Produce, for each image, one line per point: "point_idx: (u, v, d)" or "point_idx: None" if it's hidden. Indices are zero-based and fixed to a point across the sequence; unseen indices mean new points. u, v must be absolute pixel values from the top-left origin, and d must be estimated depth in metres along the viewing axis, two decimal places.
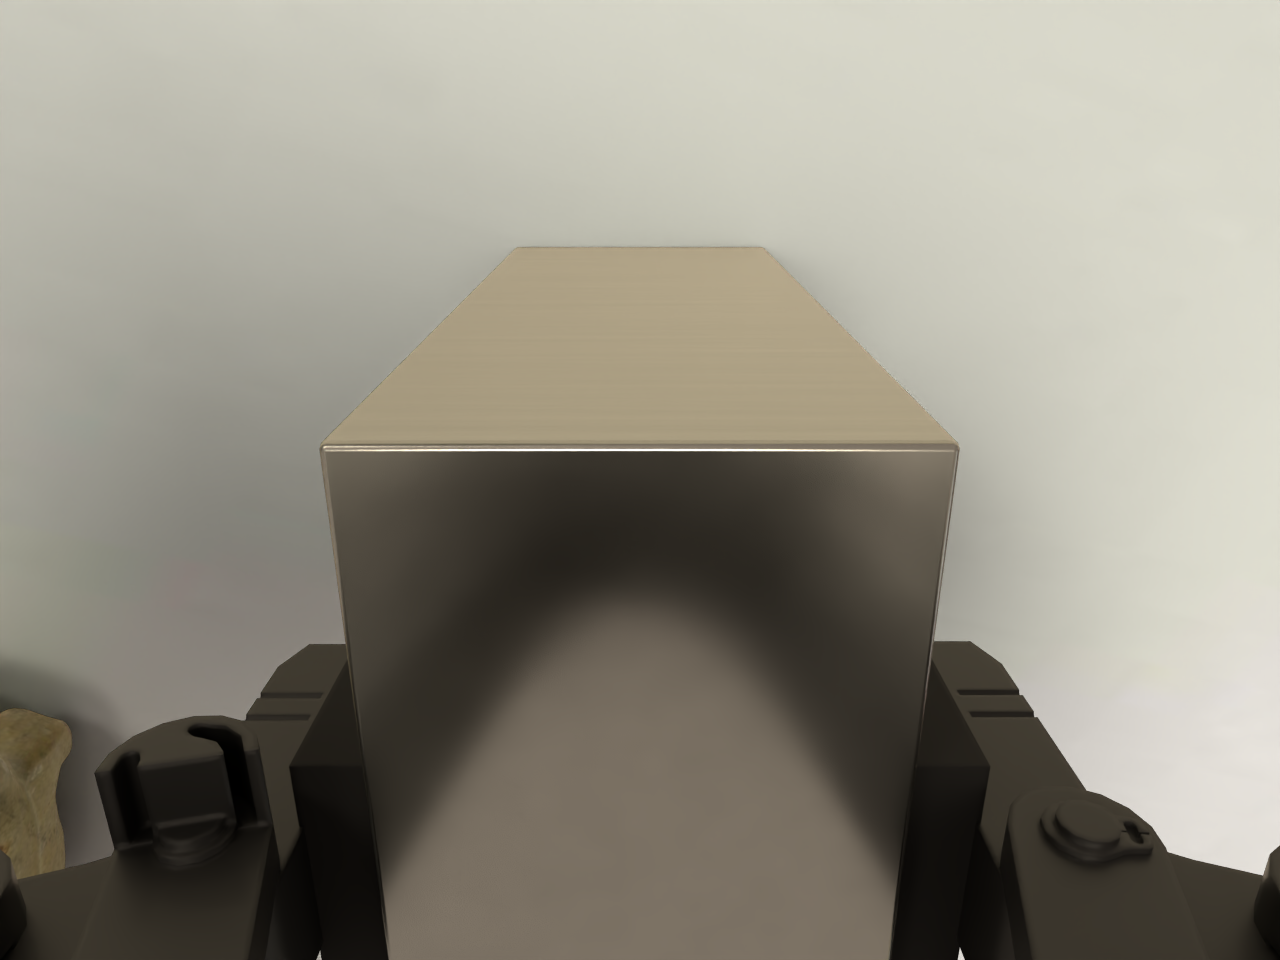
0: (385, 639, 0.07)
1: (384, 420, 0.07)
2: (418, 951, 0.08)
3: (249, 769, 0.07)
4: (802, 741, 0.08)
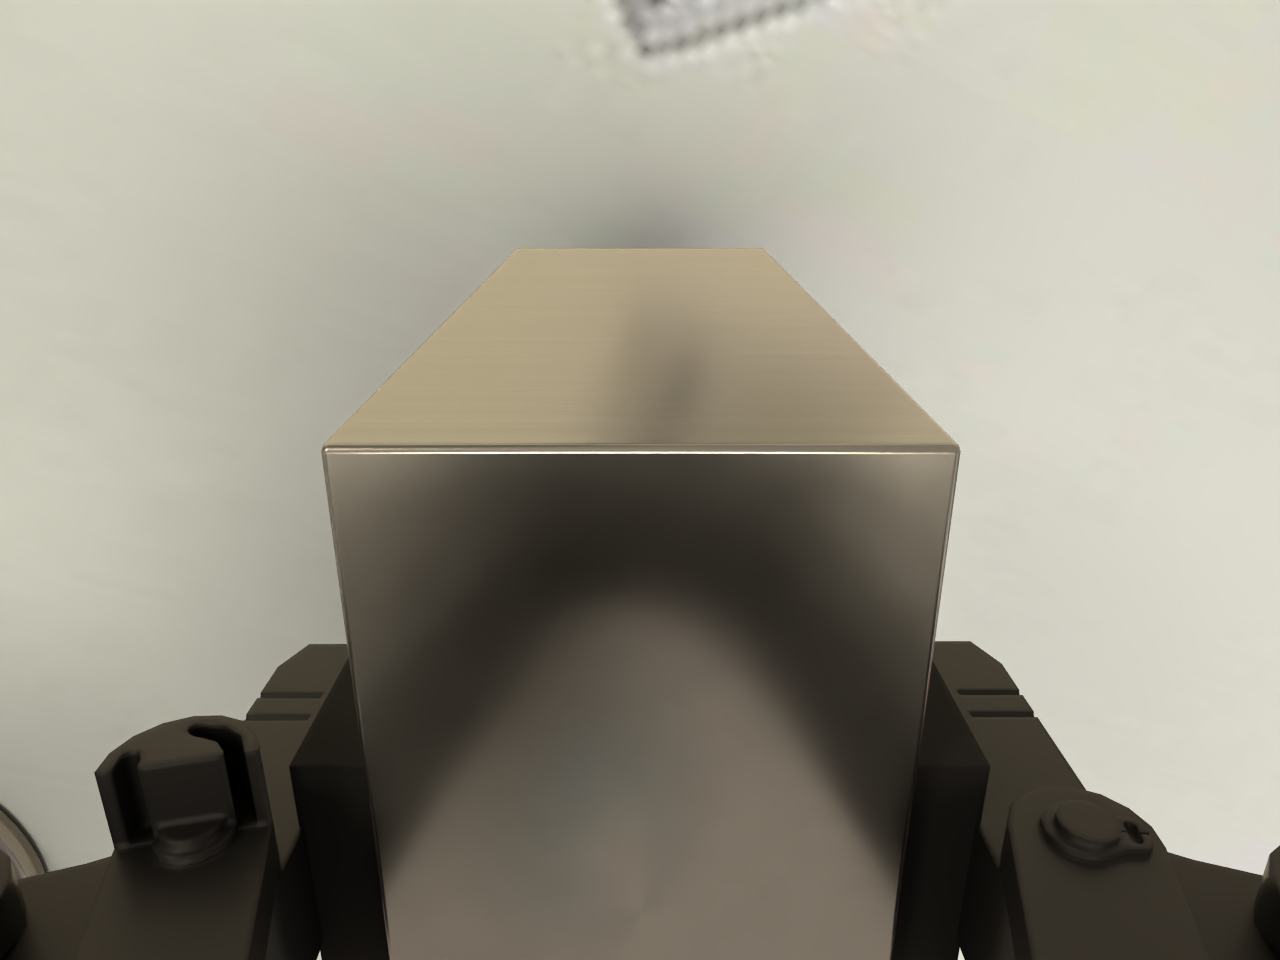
0: (387, 641, 0.07)
1: (386, 422, 0.07)
2: (420, 952, 0.08)
3: (249, 769, 0.07)
4: (803, 744, 0.08)
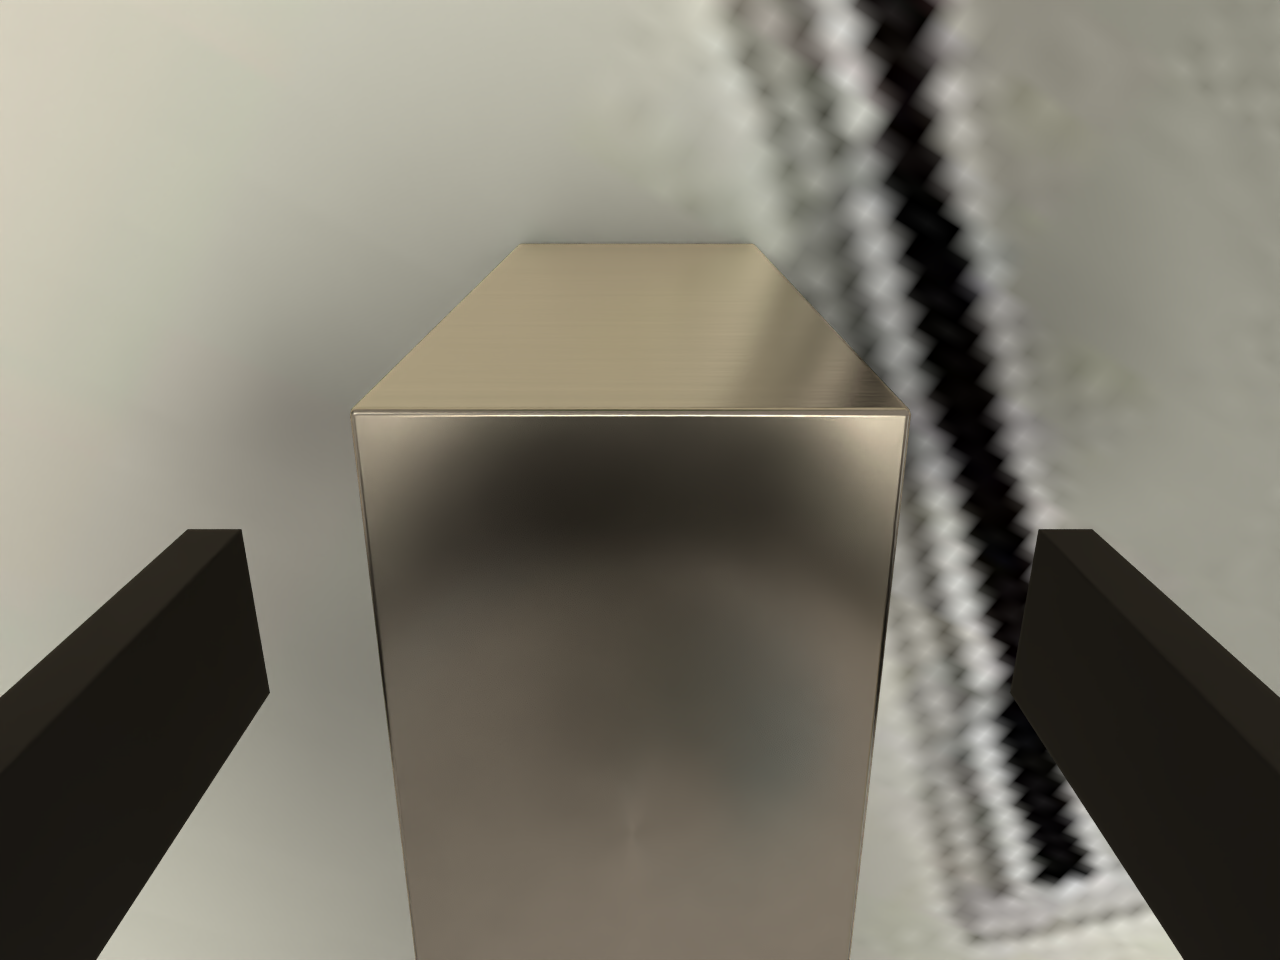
0: (406, 584, 0.08)
1: (405, 391, 0.08)
2: (433, 872, 0.09)
3: None
4: (775, 678, 0.09)
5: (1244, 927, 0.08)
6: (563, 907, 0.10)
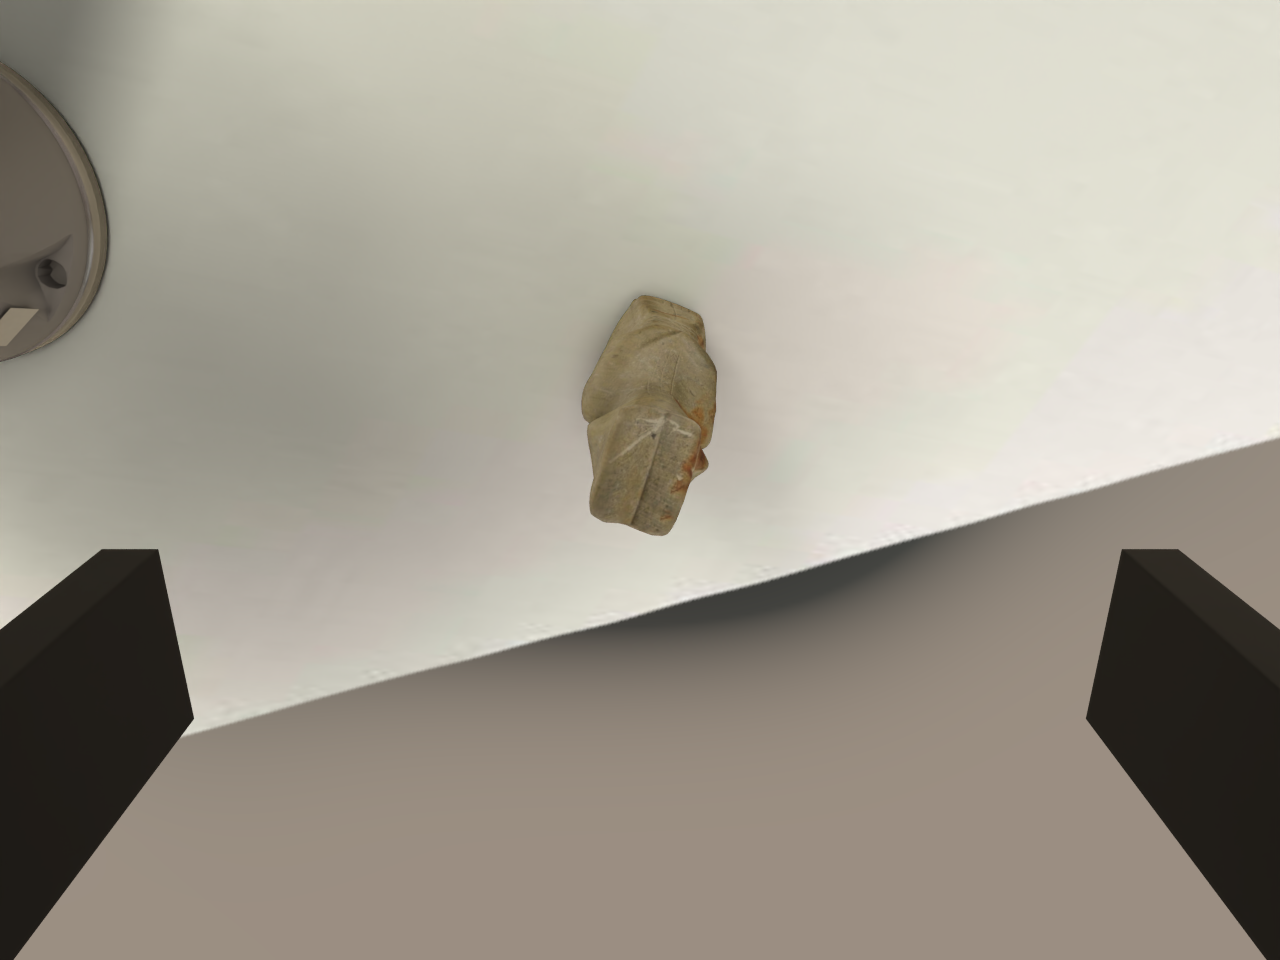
0: None
1: None
2: None
3: None
4: None
5: None
6: None
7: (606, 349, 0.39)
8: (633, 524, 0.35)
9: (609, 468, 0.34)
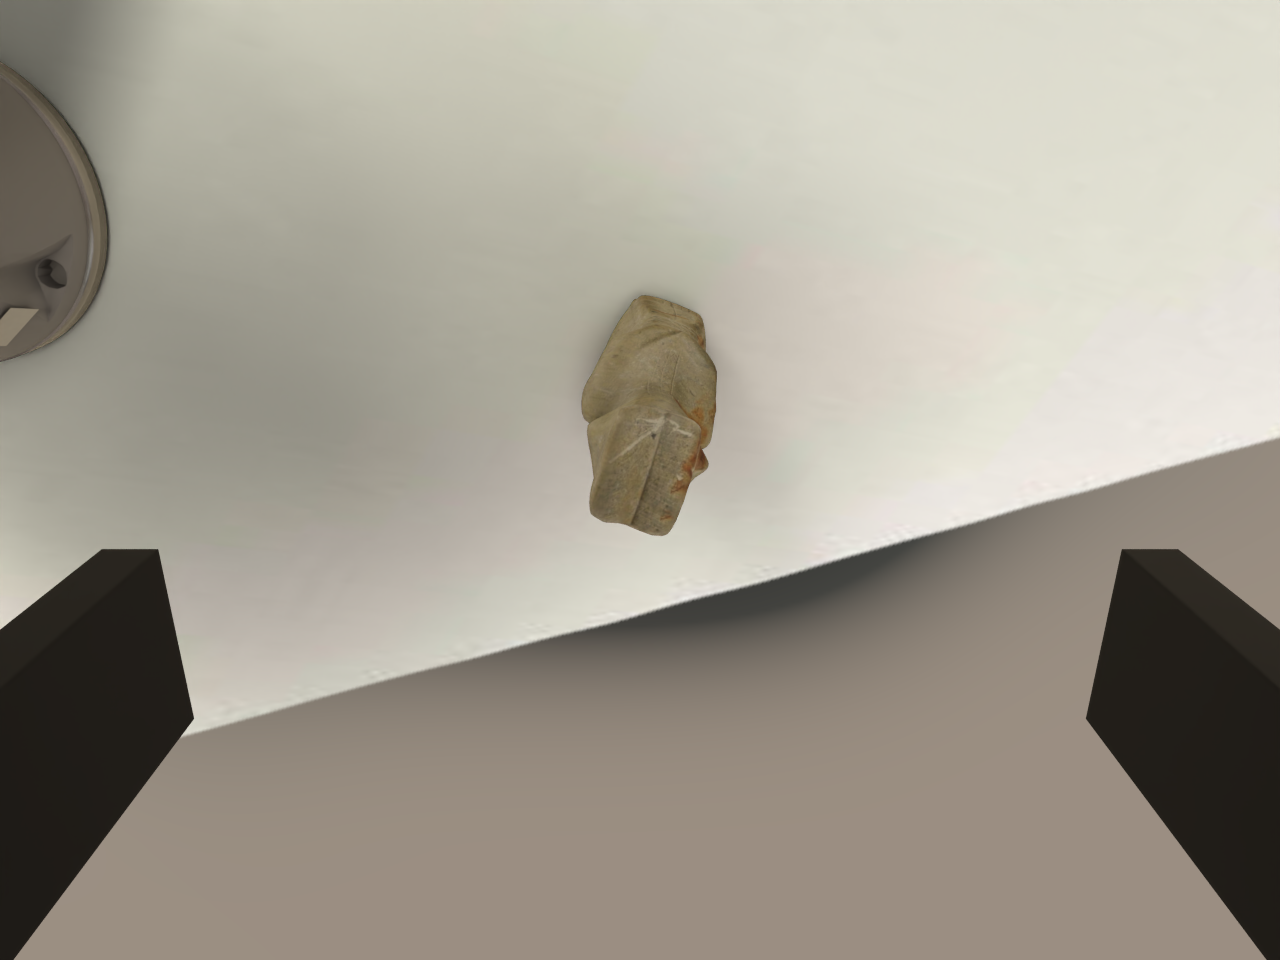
0: None
1: None
2: None
3: None
4: None
5: None
6: None
7: (606, 349, 0.39)
8: (633, 524, 0.35)
9: (609, 468, 0.34)
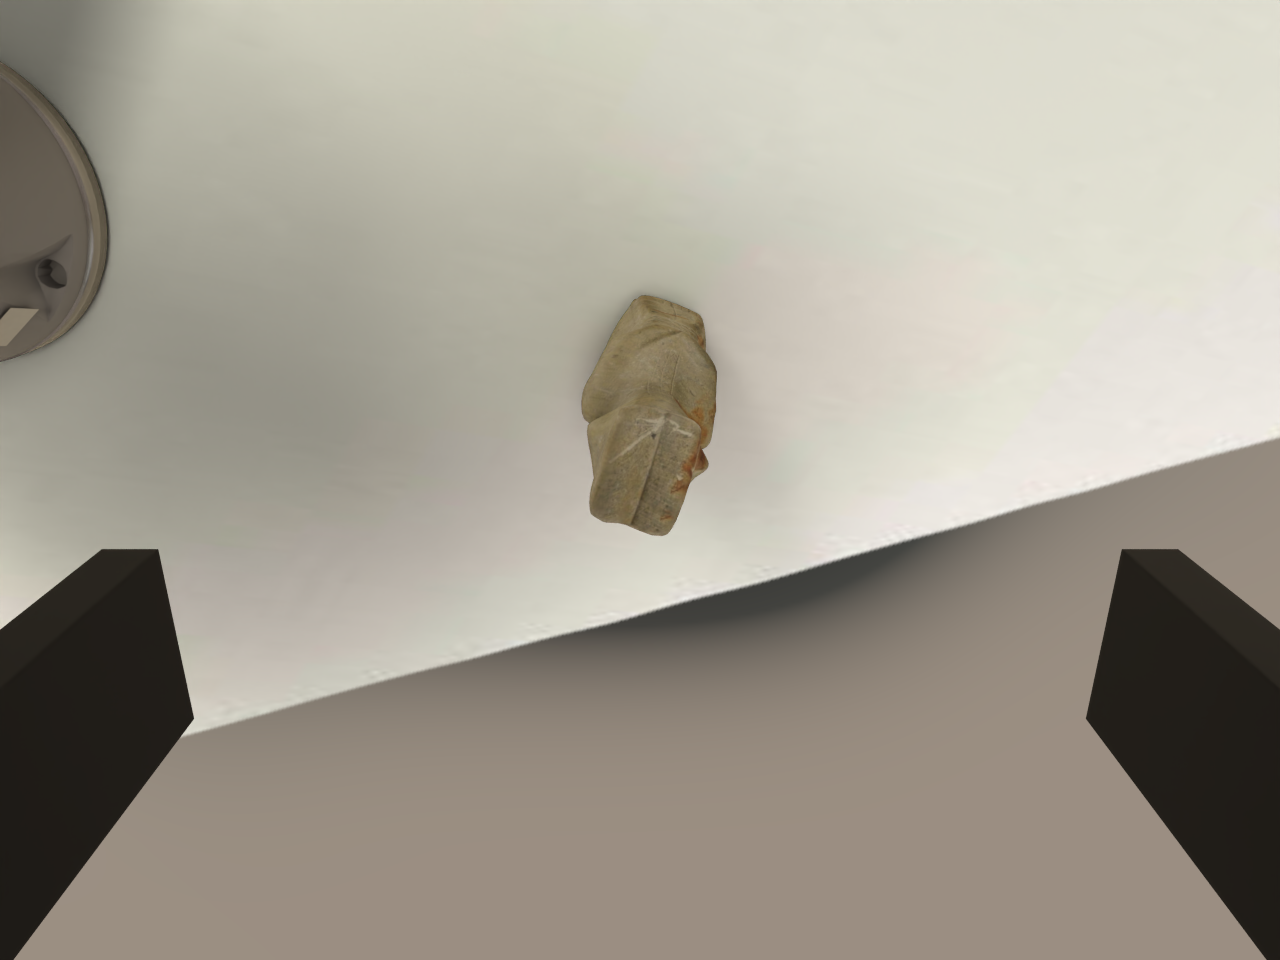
0: None
1: None
2: None
3: None
4: None
5: None
6: None
7: (606, 349, 0.39)
8: (633, 524, 0.35)
9: (609, 468, 0.34)
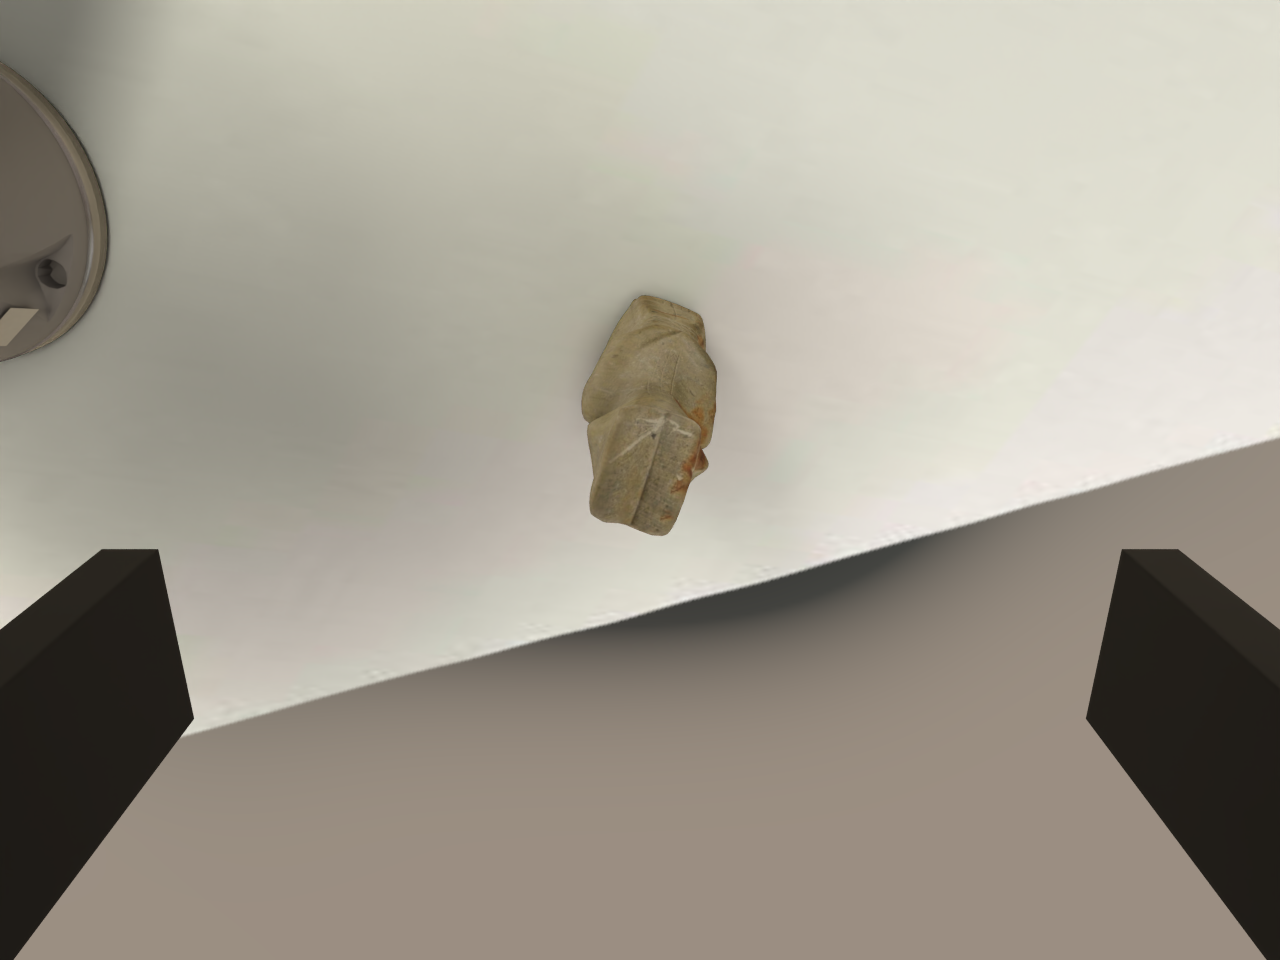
0: None
1: None
2: None
3: None
4: None
5: None
6: None
7: (606, 349, 0.39)
8: (633, 524, 0.35)
9: (609, 468, 0.34)
